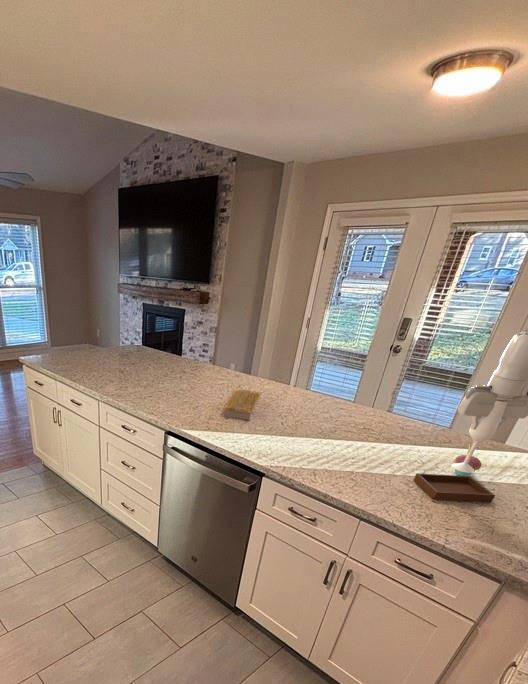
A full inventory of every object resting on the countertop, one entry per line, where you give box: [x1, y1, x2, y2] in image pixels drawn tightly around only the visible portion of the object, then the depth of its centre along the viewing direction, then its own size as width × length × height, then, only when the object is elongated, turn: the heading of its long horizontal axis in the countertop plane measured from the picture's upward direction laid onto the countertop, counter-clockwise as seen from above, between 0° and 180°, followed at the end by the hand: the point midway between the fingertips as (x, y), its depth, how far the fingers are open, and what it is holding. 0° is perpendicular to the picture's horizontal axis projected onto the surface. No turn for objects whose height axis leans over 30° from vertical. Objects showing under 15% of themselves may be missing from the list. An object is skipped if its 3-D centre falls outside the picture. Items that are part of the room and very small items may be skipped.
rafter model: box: [222, 389, 262, 421], centre depth 210 cm, size 35×14×6 cm, turn 160°
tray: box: [412, 472, 496, 504], centre depth 145 cm, size 20×14×3 cm
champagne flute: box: [451, 401, 508, 474], centre depth 134 cm, size 7×7×24 cm
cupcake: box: [453, 444, 482, 476], centre depth 155 cm, size 9×8×12 cm
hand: (483, 429), depth 133 cm, fingers closed on champagne flute, 5 cm apart
